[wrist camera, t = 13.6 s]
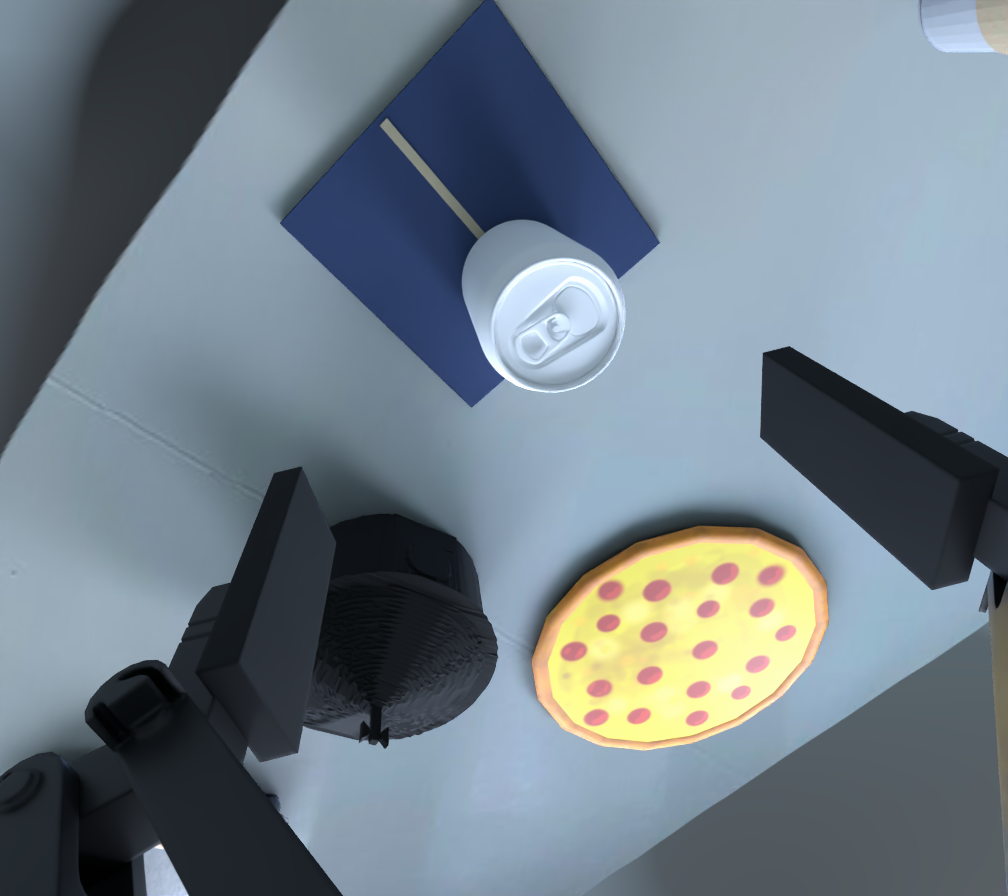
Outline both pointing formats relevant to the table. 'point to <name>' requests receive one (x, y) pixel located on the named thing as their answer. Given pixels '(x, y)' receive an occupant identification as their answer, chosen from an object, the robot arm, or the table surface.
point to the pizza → (680, 637)
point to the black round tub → (398, 633)
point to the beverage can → (542, 306)
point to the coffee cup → (966, 25)
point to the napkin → (461, 193)
